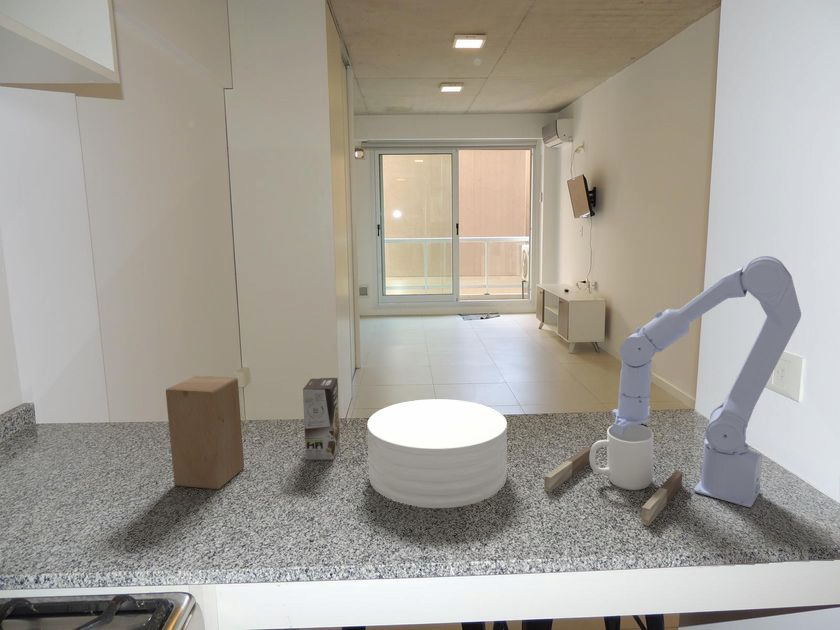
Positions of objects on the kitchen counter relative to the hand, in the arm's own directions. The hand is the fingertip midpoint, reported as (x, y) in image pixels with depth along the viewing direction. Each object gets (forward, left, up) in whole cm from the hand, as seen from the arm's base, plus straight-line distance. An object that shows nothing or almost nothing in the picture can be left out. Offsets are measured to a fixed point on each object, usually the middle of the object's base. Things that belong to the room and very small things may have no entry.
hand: (629, 457), depth 113 cm
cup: (0, +6, -3) cm, 6 cm away
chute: (-1, +10, -3) cm, 10 cm away
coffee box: (+56, +34, -3) cm, 66 cm away
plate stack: (+30, +26, -3) cm, 39 cm away
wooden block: (+64, +57, -3) cm, 86 cm away
